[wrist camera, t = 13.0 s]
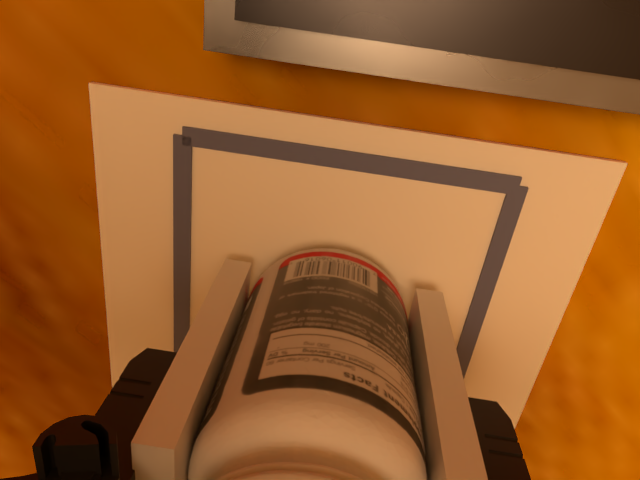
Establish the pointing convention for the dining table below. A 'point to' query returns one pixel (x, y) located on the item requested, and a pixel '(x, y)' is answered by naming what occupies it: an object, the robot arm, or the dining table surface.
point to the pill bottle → (316, 380)
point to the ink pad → (450, 43)
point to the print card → (340, 220)
